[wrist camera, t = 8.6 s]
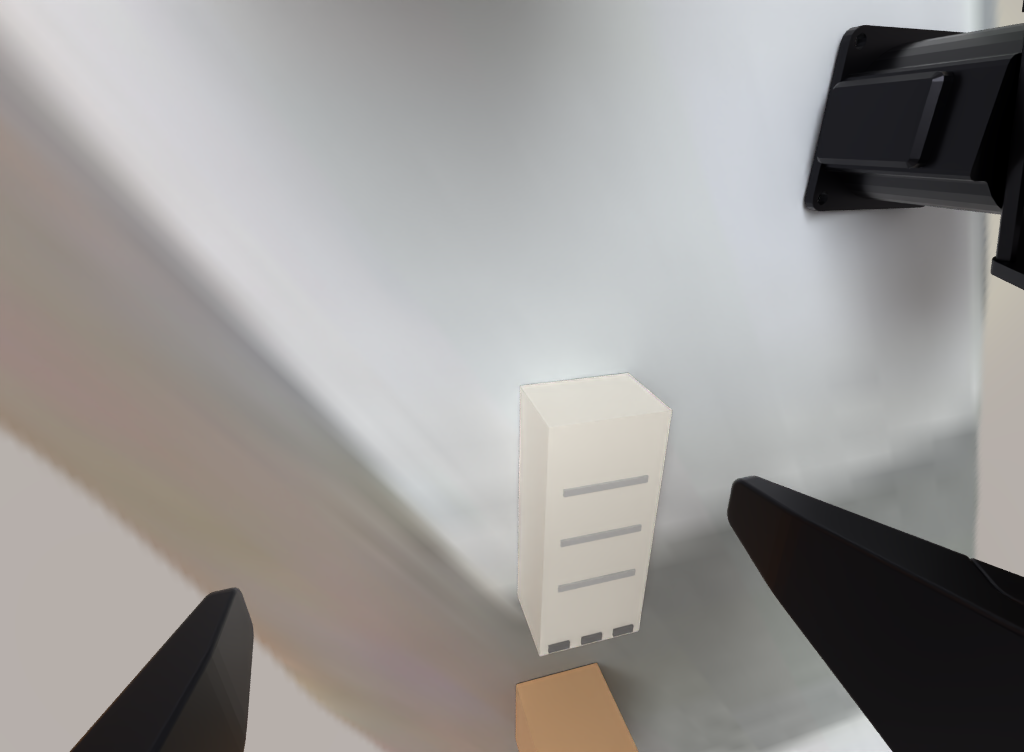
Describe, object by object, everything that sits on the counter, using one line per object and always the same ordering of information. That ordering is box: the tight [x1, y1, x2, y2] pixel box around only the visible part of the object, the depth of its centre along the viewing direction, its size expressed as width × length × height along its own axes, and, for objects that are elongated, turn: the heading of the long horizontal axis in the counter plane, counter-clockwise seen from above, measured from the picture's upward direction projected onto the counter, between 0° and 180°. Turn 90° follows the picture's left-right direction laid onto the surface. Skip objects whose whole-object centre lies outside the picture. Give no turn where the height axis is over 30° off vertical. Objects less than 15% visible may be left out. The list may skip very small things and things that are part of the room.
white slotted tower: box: [517, 373, 672, 656], centre depth 23 cm, size 5×12×4 cm, turn 0°
